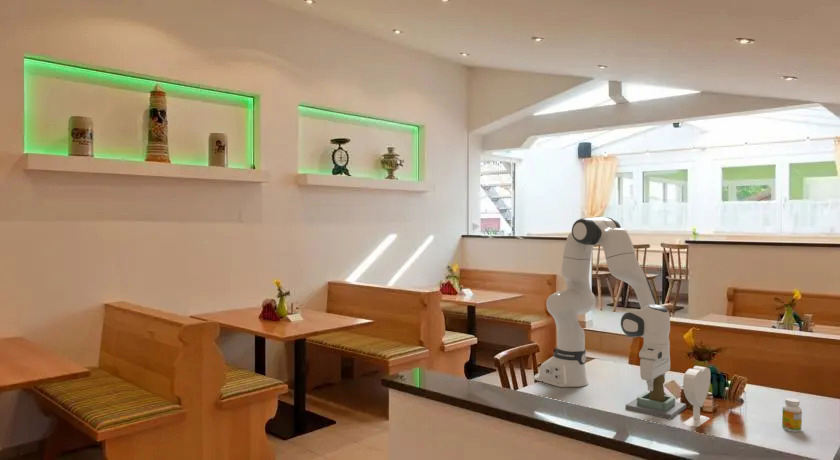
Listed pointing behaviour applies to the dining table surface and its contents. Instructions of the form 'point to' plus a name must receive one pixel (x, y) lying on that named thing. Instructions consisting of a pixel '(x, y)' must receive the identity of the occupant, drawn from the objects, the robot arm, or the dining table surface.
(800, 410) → the supplement bottle
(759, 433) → the dining table surface
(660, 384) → the olive green tapered cylinder
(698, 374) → the heart sculpture
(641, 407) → the housing
